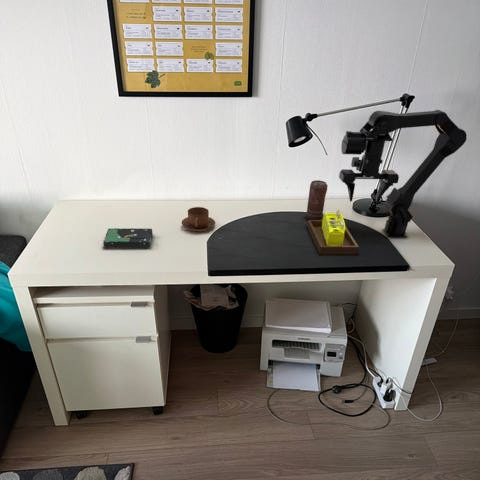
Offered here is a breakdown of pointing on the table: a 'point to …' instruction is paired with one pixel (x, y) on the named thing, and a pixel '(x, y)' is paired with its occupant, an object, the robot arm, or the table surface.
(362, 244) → the table surface
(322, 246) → the tray
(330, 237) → the yellow toy chassis
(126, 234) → the disk drive
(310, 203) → the can
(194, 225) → the cup and saucer
